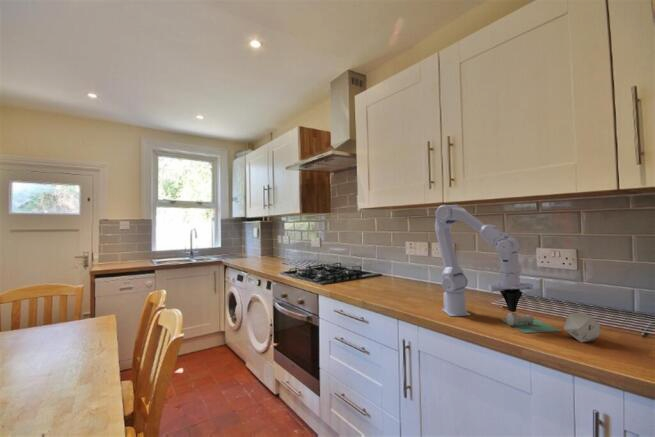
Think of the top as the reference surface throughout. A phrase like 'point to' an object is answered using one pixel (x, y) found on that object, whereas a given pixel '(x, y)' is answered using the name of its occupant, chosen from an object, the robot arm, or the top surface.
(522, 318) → the rook chess piece
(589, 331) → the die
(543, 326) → the felt mat
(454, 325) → the top surface
